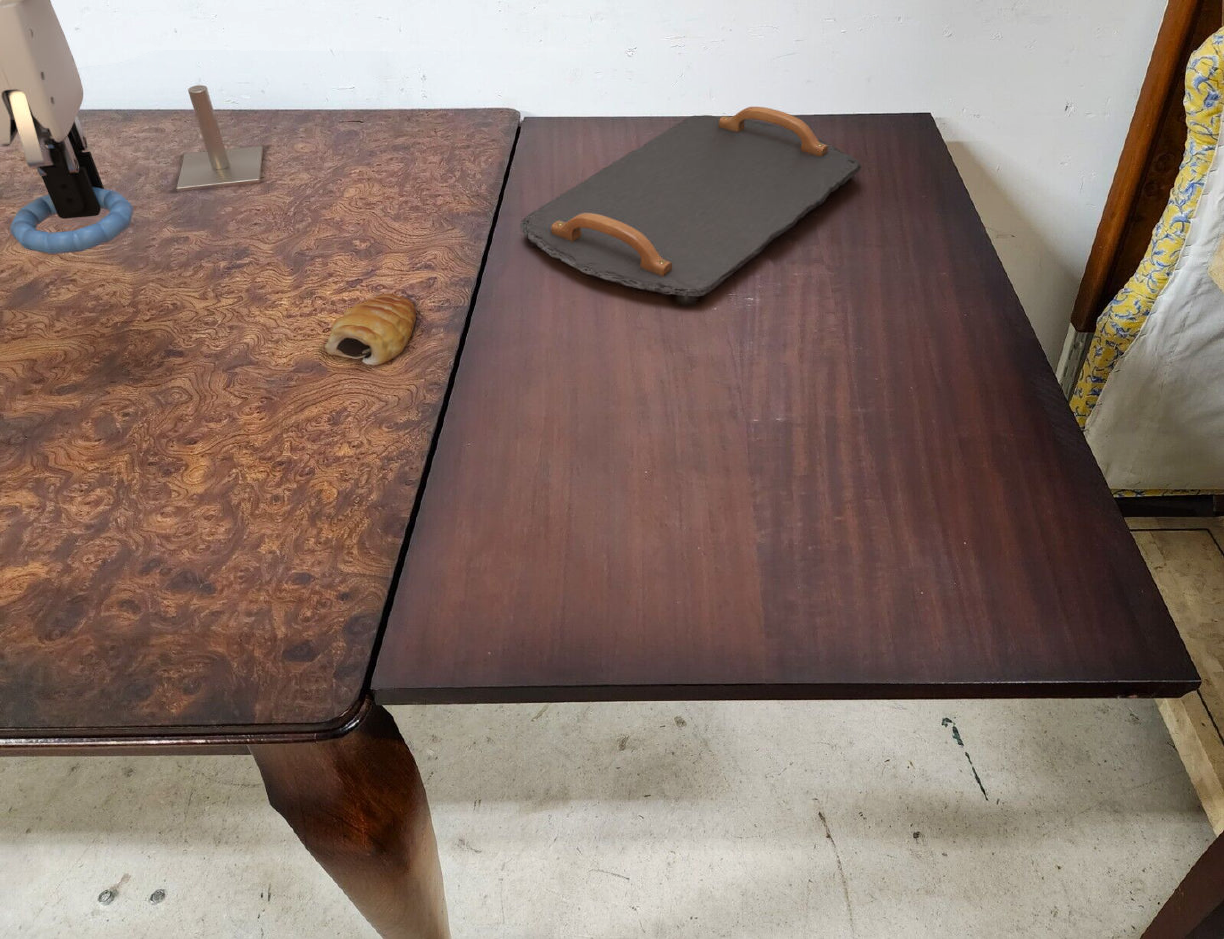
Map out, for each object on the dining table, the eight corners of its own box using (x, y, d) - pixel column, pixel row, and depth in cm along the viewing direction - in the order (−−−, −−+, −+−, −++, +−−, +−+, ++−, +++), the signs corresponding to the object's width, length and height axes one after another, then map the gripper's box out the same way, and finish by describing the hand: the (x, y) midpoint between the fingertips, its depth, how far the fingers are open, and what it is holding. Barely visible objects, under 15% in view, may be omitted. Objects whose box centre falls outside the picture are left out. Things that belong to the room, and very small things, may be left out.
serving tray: (705, 127, 122) (708, 77, 118) (875, 177, 112) (884, 124, 107) (497, 258, 100) (491, 202, 95) (685, 336, 89) (688, 277, 85)
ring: (5, 262, 75) (-4, 244, 74) (30, 207, 81) (22, 189, 80) (126, 250, 76) (119, 232, 75) (141, 197, 82) (135, 179, 81)
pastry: (370, 306, 93) (363, 271, 91) (435, 317, 92) (430, 282, 89) (322, 363, 87) (313, 327, 84) (392, 376, 85) (385, 340, 83)
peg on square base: (179, 197, 110) (149, 108, 103) (187, 162, 116) (159, 76, 109) (261, 189, 111) (237, 100, 104) (265, 154, 118) (242, 69, 111)
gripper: (-41, -62, 73) (54, 168, 86) (-106, 9, 62) (13, 262, 75) (66, -67, 75) (143, 160, 87) (20, 2, 63) (117, 251, 76)
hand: (83, 205), depth 81 cm, fingers closed on ring, 2 cm apart
